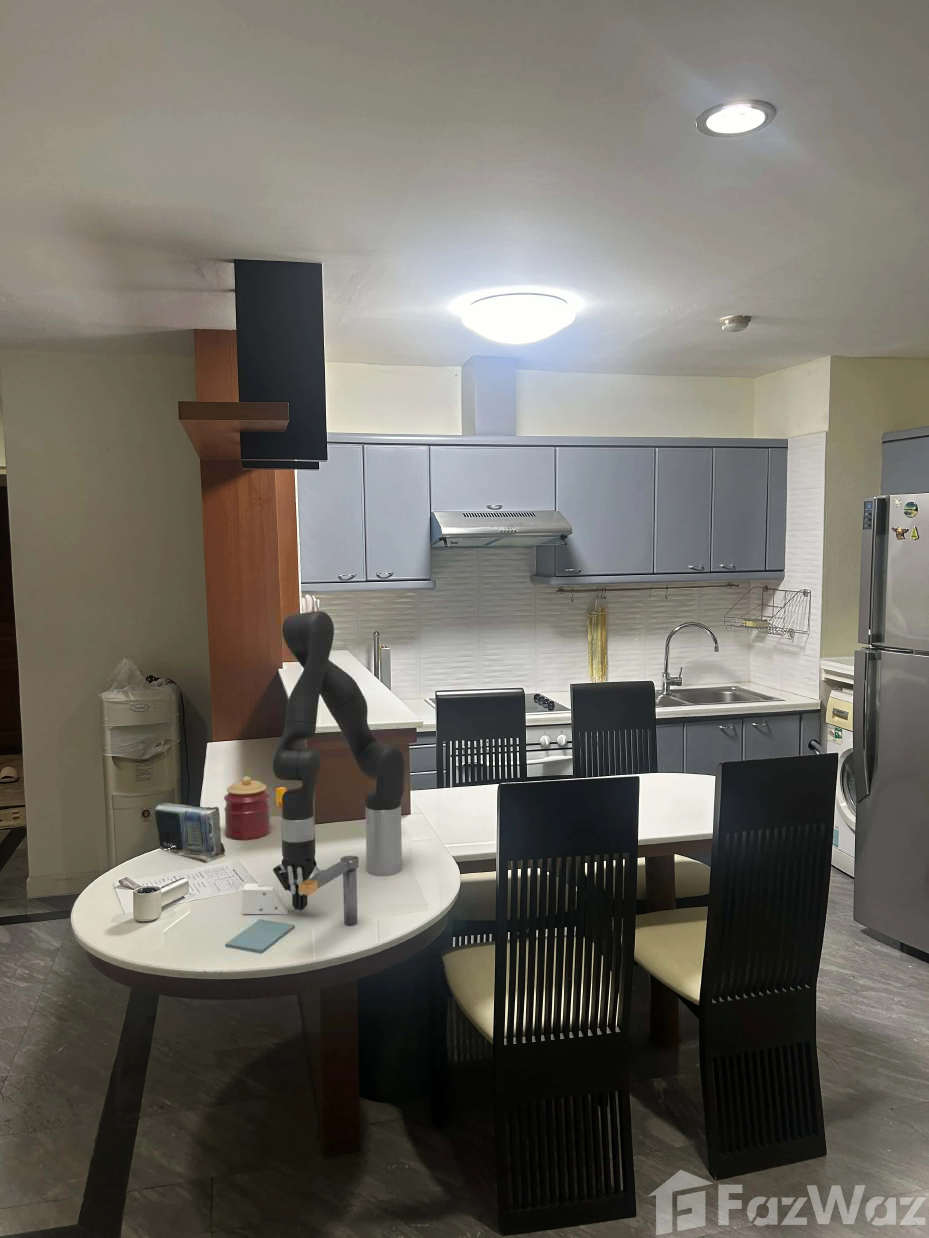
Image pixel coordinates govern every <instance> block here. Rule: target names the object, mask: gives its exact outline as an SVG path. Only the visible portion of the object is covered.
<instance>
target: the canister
mask: <svg viewBox="0 0 929 1238" xmlns="http://www.w3.org/2000/svg"><path fill="white" fill-rule="evenodd" d="M266 789H267V785H266V784H264V783H262V782H261V781H259V780H252V778H251V777H250V776H247V775H245V776H243V777H242V779H241V781H236V782H234V783H232V784H231V785H229V786H228V787H227V788H226V792H227V794H225V795H224V796H223V799H224V801H225V807H224V808H223V809H224V815H225V817H224V818H225V819H224V821H225V828H224V830H225V831H224V833H225V837H226V838H228V839H230V840H236V841H252V840H257V839H261V838H264V837H266V836H268V835H270V832H271V821H270V820H271V819H270V816H271V815H270V807H271V804H270V803H269V798H270V793H269V792H268V790H267V791H266Z"/></svg>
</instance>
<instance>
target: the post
mask: <svg viewBox="0 0 929 1238" xmlns="http://www.w3.org/2000/svg"><path fill="white" fill-rule="evenodd" d="M357 871H358V870H357V868H356V869H353V870H348V871H347V872H345V873H343V874H342V880H343V881H342V884H343V885H342V886H343V887H342V888H343V893H342V894H343V925H344V926H346V927H354V926H356V925H357V924H358V885H357V884H358V883H357V882H358V881H357V880H358V879H357V878H358V877H357Z"/></svg>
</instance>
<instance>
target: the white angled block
mask: <svg viewBox="0 0 929 1238" xmlns="http://www.w3.org/2000/svg"><path fill="white" fill-rule="evenodd" d="M288 913H289V910H288V909H287V906H286V905H285V903H284V902H283V900H282V898H281V896H280V895H279V893H278V891H277V890H276V888H275V887H274V886H261V885H260V883H245V885H244V887H243V888H242V915H288Z"/></svg>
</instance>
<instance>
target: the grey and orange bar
mask: <svg viewBox="0 0 929 1238" xmlns="http://www.w3.org/2000/svg"><path fill="white" fill-rule="evenodd" d="M359 862H360V861H359V856H357V855H345V856H342V857H340V861H338V862H337V863H335V864H333V865H331V866H330V867H328V868H326V869H324V871H323V872H321V873H319V874H317V875H316V876H314V877H313V876H312V877H310V879H307V880H305V881H303V882H302V883H300V884H299V893H300V894H305V895H307V896H310V895H312V894H314V893H315V892H316V891H318V890H319V889H320V888H321V887H323V886H325V885H326V884H328V883H330V882H331V881H334V879H336V878H338V877H340V876H341V875H342V876H343V873H345V872H347V871H348V870H353V869H356V870H357V869H358V868H359V867H360V865H359Z"/></svg>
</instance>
